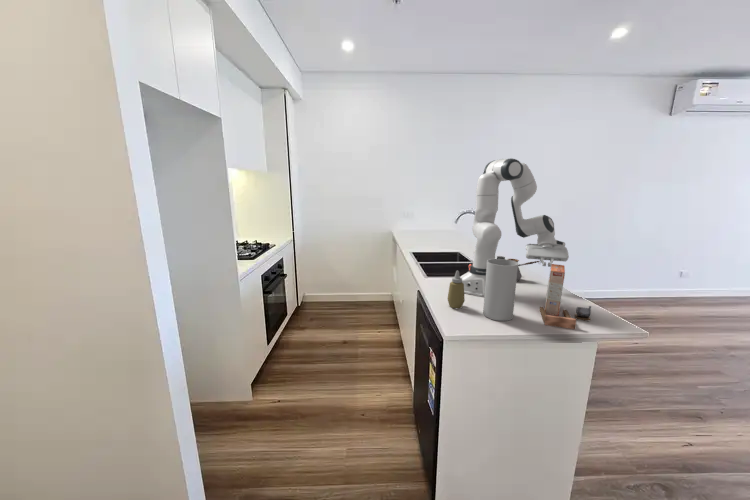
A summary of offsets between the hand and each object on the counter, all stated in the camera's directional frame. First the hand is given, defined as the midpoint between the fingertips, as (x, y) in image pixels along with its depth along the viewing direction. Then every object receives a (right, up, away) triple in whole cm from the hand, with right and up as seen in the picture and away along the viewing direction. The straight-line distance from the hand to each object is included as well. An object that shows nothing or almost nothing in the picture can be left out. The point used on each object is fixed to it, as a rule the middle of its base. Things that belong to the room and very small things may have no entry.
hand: (547, 266), depth 162 cm
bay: (-13, -22, -29) cm, 39 cm away
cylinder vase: (-37, -21, -25) cm, 49 cm away
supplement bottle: (-10, -8, +38) cm, 40 cm away
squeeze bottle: (-53, -19, -15) cm, 58 cm away
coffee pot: (-4, -11, +23) cm, 26 cm away
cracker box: (-8, -20, -19) cm, 29 cm away
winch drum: (0, -22, -28) cm, 36 cm away
